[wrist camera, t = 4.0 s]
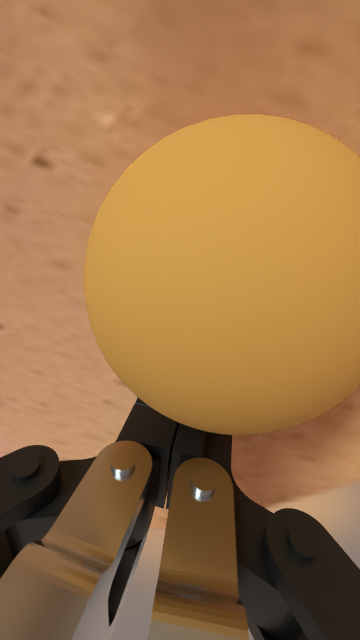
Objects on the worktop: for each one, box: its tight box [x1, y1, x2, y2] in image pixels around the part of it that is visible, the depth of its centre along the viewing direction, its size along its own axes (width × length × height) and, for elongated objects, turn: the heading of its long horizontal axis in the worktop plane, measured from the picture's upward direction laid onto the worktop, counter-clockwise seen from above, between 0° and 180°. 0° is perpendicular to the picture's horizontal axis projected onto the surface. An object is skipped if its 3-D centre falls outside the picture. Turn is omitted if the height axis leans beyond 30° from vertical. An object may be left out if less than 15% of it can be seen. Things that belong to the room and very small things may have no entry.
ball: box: [84, 114, 360, 435], centre depth 6 cm, size 6×6×6 cm
